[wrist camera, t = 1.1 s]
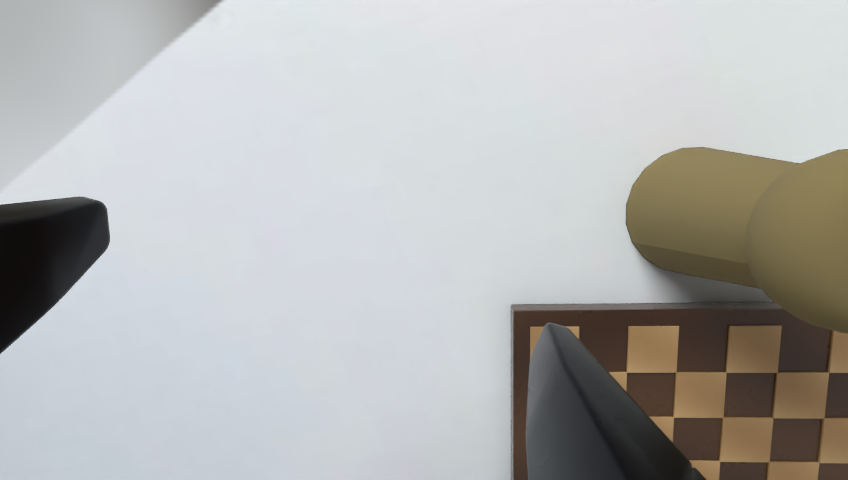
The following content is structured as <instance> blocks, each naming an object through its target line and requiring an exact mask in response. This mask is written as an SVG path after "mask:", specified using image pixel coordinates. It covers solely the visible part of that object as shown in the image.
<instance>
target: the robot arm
mask: <svg viewBox="0 0 848 480" xmlns="http://www.w3.org/2000/svg"><path fill="white" fill-rule="evenodd" d="M109 242H110V233H109V224H108V215H107V208H106V206H105V205H104V204H103V203H102V202H100V201H97V200H93V199H90V198H86V197H71V198H61V199H52V200H42V201H32V202H23V203H13V204H3V205H0V354H1V353H2V352H3V351H4V350H5V349H6V348H8V347H9V346H10V345H11V344H12V343H13V342H14V341H15V340H17V339H18V338H19V337H20V336H21V335H22V334H23V333H24V332H26V331H27V330H28V329H29V328H30V327H31V326H32V325H33V324H35V323H36V322H37V321H38V320H39V319H40V318H41V317H42V316H44V315H45V314H46V313H47V312H48V311H49V310H50V309H51V308H52V307H53V306H54V305H55V304H56V303H57V302H58V301H59V300H60V299H61V298H62V297H63V296H64V295H65V294H66V293H67V292H68V291H69V290H70V288H71V287H72V286H73V285H74V284H75V283H76V282H77V281H78V280H79V279H80V278H81V277H82V276H83V274H84V273H85V272H86V271H87V270H88V269H89V268H90V267H91V266H92V265H93V264H94V263H95V261H96V260H97V259H98V258H99V257H100V256H101V255H102V254H103V253H104V252H105V251H106V249H107V247H108V245H109ZM526 452H527V467H528V480H706V478H705V477H704V476H703V475H702V474H701V473H700V472H699V471H698V470H697V469H696V468H695V467H693V468H692V463H691V462H690V461H689V460H688V459H687V458H686V457H685V455H684V454H683V453H682V452H681V451H680V450H679V449H678V448H677V447H676V446H675V444H674V443H673V442H672V441H671V440H670V439H669V438H668V437H667V436H666V435H665V434H664V432H663V431H662V430H661V429H660V428H659V427H658V426H657V425H656V424H655V423H654V421H653V420H652V419H651V418H650V417H649V416H648V415H647V414H646V413H645V412H644V410H643V409H642V408H641V407H640V406H639V405H638V404H637V403H636V402H635V401H634V399H633V398H632V397H631V396H630V395H629V394H628V393H627V392H626V391H625V390H624V388H623V387H622V386H621V385H620V384H619V383H618V382H617V381H616V380H615V379H614V377H613V376H612V375H611V374H610V373H609V372H608V371H607V370H606V369H605V368H604V367H603V365H602V364H601V363H600V362H599V361H598V360H597V359H596V358H595V357H594V356H593V354H592V353H591V352H590V351H589V350H588V349H587V348H586V347H585V346H584V345H583V343H582V342H581V341H580V340H579V339H578V338H577V337H576V336H575V335H574V334H573V332H572V331H571V330H570V329H569V328H567V327H565V326H561V325H557V324H554V323H547V324H546V325H545V326H544V327H543V330H542V332H541V334H540V336H539V339H538V341H537V343H536V346H535V348H534V350H533V352H532V355H531V359H530V364H529V380H528V398H527V417H526Z"/></svg>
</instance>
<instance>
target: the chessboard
mask: <svg viewBox="0 0 848 480" xmlns="http://www.w3.org/2000/svg"><path fill="white" fill-rule="evenodd" d="M547 323H554V324H557V325H561V326H565V327H567V328H569V329H570V330H571V331H572V332H573V334H574V335H575V336H576V337H577V338H578V339H579V340H580V341H581V342H582V343H583V345H584V346H585V347H586V348H587V349H588V350H589V351H590V352H591V353H592V354H593V356H594V357H595V358H596V359H597V360H598V361H599V362H600V363H601V364H602V365H603V367H604V368H605V369H606V370H607V371H608V372H609V373H610V374H611V375H612V376H613V377H614V379H615V380H616V381H617V382H618V383H619V384H620V385H621V386H622V387H623V388H624V390H625V391H626V392H627V393H628V394H629V395H630V396H631V397H632V398H633V399H634V401H635V402H636V403H637V404H638V405H639V406H640V407H641V408H642V409H643V410H644V412H645V413H646V414H647V415H648V416H649V417H650V418H651V419H652V420H653V421H654V423H655V424H656V425H657V426H658V427H659V428H660V429H661V430H662V431H663V432H664V434H665V435H666V436H667V437H668V438H669V439H670V440H671V441H672V442H673V443H674V444H675V446H676V447H677V448H678V449H679V450H680V451H681V452H682V453H683V454H684V455H685V457H686V458H687V459H688V460H689V461H690V462H691V463H692V468H693V467H695V468H696V469H697V470H698V471H699V472H700V473H701V474H702V475H703V476H704V477H705V478H706V480H848V334H847V333H840V332H837V331H833V330H829V329H826V328H822V327H818V326H815V325H812V324H809V323H807V322H805V321H803V320H801V319H799V318H797V317H795V316H794V315H792V314H791V313H789V312H788V311H786V310H785V309H783V308H782V307H780V306H779V305H777V304H776V303H775V302H739V303H631V304H522V305H511V480H528V467H527V452H526V417H527V398H528V380H529V364H530V359H531V355H532V352H533V350H534V348H535V346H536V343H537V341H538V339H539V336H540V334H541V332H542V330H543V327H544V326H545V325H546V324H547Z"/></svg>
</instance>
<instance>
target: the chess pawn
mask: <svg viewBox="0 0 848 480" xmlns="http://www.w3.org/2000/svg"><path fill="white" fill-rule="evenodd" d="M626 225H627V228H628V231H629V234H630V237H631V241H632V243H633V244H634V245H635V247H636V248H637V249H638V251H639V252H640V253H641V254H642V256H643V257H644V258H646V259H647V260H649V261H650V262H652V263H653V264H655V265H656V266H658V267H659V268H663V269H666V270H670V271H674V272H677V273H682V274H687V275H692V276H698V277H703V278H708V279H713V280H718V281H724V282H729V283H734V284H739V285H744V286H750V287H755V288H760V289H762V290H763V291H764V292H765V294H766V295H767V296H768V297H769V298H770V299H771V300H773V301H774V302H775V303H776V304H777V305H779V306H780V307H782V308H783V309H785V310H786V311H788V312H789V313H791V314H792V315H794V316H795V317H797V318H799V319H801V320H803V321H805V322H807V323H809V324H812V325H815V326H818V327H822V328H826V329H829V330H833V331H837V332H840V333H847V334H848V149H843V150H837V151H834V152H831V153H828V154H825V155H822V156H820V157H817V158H814V159H811V160H808V161H806V162H803V163H794V162H788V161H782V160H776V159H770V158H764V157H758V156H752V155H746V154H741V153H735V152H729V151H723V150H717V149H711V148H705V147H696V148H681V149H679V150H676V151H673V152H671V153H668V154H665V155H662V156H661V157H660V158H658V159H657V160H656V161H654V162H653V163H652V164H650V165H649V166H648V167H646V168H645V169H644V171H643V172H642V173H641V175H640V176H639V178H638V179H637V180H636V182H635V183H634V184H633V186H632V189H631V192H630V195H629V198H628V201H627V204H626Z"/></svg>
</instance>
